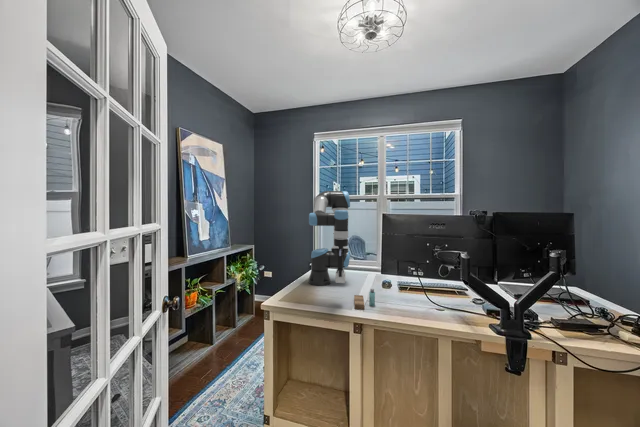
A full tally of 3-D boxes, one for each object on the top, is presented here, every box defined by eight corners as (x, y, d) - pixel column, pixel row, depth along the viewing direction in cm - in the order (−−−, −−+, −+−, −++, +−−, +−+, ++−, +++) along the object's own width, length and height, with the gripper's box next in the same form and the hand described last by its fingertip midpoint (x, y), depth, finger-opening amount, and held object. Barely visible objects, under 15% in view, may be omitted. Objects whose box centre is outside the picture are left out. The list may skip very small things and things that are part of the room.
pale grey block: (336, 280, 149) (336, 269, 149) (345, 280, 149) (345, 269, 148) (335, 282, 144) (335, 271, 144) (344, 283, 144) (345, 272, 143)
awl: (369, 303, 147) (369, 288, 147) (374, 304, 147) (374, 288, 146) (369, 305, 144) (369, 290, 144) (375, 306, 144) (375, 290, 143)
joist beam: (354, 299, 153) (354, 295, 153) (363, 299, 153) (363, 295, 153) (354, 309, 140) (354, 304, 139) (364, 309, 139) (364, 304, 139)
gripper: (335, 236, 155) (335, 276, 156) (332, 240, 137) (332, 285, 138) (348, 236, 154) (348, 276, 155) (347, 241, 136) (346, 286, 137)
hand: (340, 280), depth 146 cm, fingers closed on pale grey block, 5 cm apart
